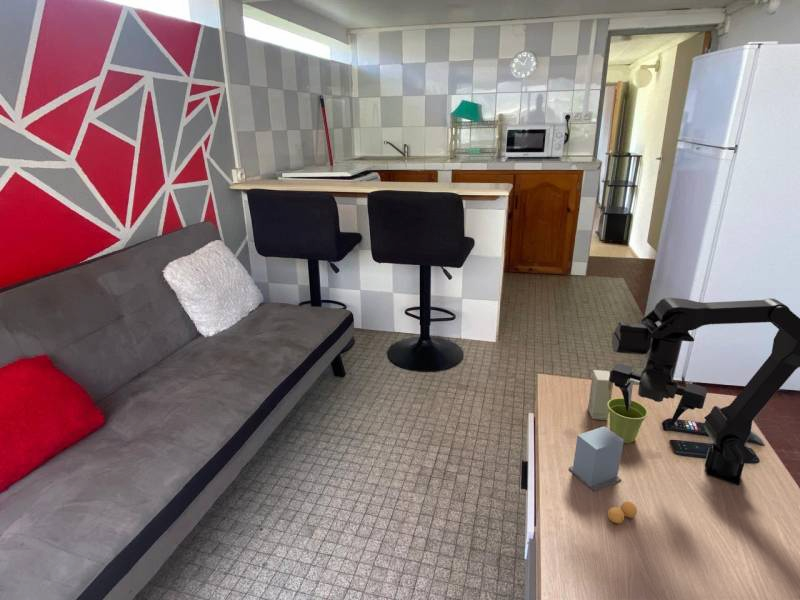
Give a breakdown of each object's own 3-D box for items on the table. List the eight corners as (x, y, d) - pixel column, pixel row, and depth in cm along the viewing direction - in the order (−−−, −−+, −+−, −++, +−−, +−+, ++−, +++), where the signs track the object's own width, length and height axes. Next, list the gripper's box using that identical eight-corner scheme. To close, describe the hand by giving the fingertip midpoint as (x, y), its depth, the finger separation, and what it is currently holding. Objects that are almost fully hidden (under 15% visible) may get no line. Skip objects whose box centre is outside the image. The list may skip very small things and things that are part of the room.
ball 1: (624, 519, 95) (626, 508, 94) (621, 529, 93) (623, 517, 92) (609, 513, 97) (611, 501, 96) (605, 522, 94) (607, 510, 93)
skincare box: (608, 421, 127) (614, 381, 123) (591, 419, 128) (597, 380, 124) (603, 408, 133) (609, 370, 129) (587, 406, 134) (592, 368, 130)
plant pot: (636, 427, 124) (641, 399, 121) (647, 449, 115) (653, 420, 112) (599, 424, 126) (603, 396, 123) (607, 446, 117) (612, 416, 114)
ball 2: (637, 513, 96) (639, 502, 95) (634, 523, 94) (636, 511, 93) (621, 507, 98) (623, 496, 97) (618, 516, 96) (620, 505, 95)
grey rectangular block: (598, 461, 111) (604, 426, 108) (617, 476, 106) (623, 440, 103) (572, 470, 108) (577, 434, 105) (590, 486, 103) (596, 449, 100)
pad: (594, 459, 112) (594, 458, 112) (621, 480, 105) (621, 479, 105) (568, 468, 109) (568, 467, 109) (594, 491, 102) (594, 490, 102)
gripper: (607, 356, 100) (596, 418, 106) (708, 384, 90) (690, 451, 95) (621, 340, 109) (610, 397, 114) (715, 363, 98) (698, 426, 103)
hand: (649, 417), depth 106 cm, fingers open, 9 cm apart
